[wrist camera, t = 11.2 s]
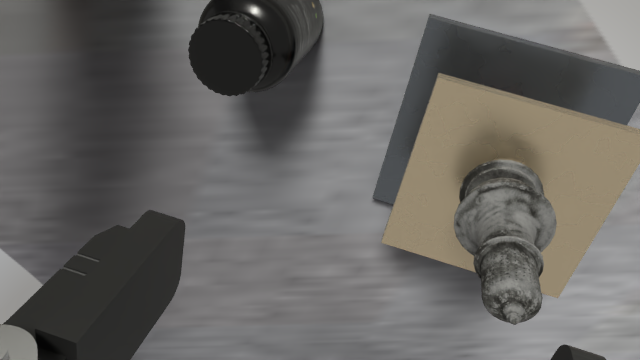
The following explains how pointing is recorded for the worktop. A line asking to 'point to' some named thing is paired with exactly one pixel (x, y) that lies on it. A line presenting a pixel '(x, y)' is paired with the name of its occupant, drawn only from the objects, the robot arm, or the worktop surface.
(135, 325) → the robot arm
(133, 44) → the worktop surface
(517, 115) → the stand
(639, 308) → the worktop surface
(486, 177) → the stone finial
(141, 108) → the worktop surface
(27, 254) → the worktop surface
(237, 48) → the supplement bottle
